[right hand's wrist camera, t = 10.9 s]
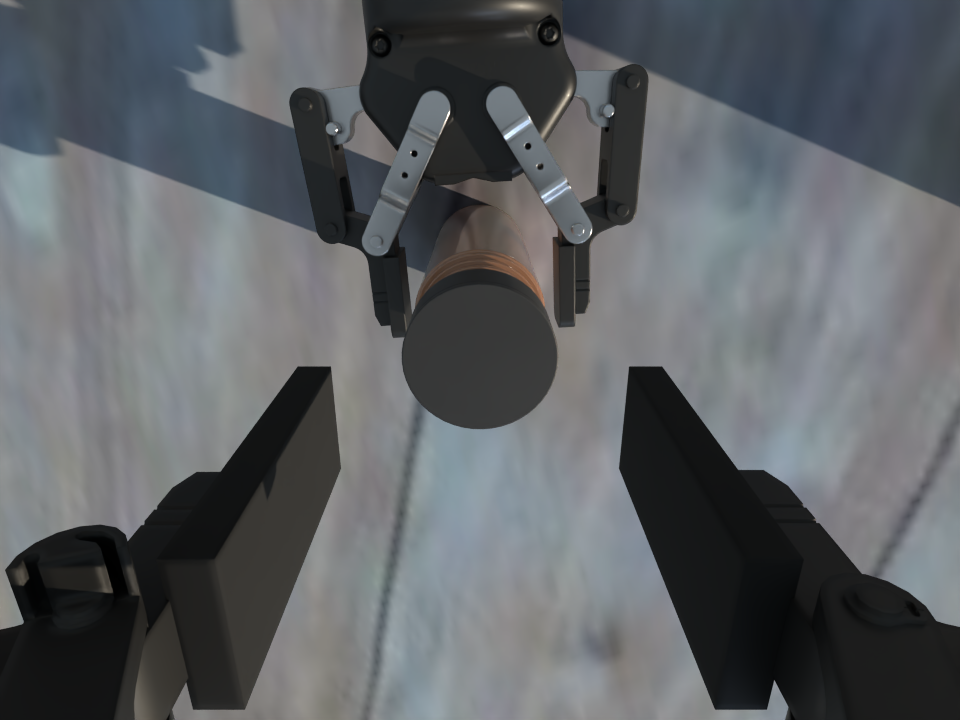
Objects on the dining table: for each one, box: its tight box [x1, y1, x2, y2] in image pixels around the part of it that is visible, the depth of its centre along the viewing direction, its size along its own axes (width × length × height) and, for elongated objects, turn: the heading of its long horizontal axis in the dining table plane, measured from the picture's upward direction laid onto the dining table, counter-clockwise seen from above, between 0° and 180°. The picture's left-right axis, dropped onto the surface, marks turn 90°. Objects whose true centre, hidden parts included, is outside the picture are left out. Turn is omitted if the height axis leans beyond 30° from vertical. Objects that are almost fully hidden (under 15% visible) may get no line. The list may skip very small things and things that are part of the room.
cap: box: [402, 269, 558, 429], centre depth 19 cm, size 5×5×2 cm
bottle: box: [415, 205, 545, 307], centre depth 26 cm, size 5×5×16 cm
